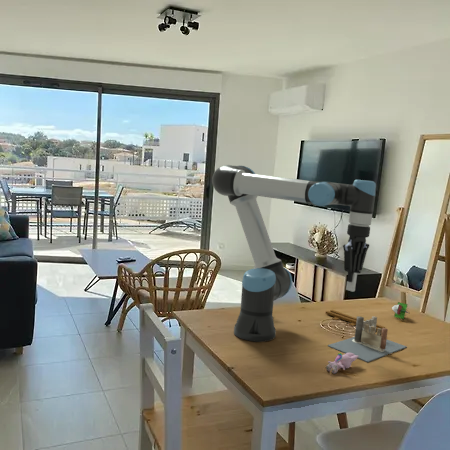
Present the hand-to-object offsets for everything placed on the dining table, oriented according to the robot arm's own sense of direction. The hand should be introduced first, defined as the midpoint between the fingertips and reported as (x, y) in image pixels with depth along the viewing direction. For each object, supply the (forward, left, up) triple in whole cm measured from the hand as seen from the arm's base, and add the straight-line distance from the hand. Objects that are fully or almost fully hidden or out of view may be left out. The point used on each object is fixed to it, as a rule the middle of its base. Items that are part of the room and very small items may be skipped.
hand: (350, 290), depth 167 cm
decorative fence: (+24, +13, -20) cm, 34 cm away
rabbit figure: (-19, -13, -20) cm, 30 cm away
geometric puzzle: (+49, +6, -20) cm, 53 cm away
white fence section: (+10, -2, -19) cm, 22 cm away
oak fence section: (+6, -8, -19) cm, 21 cm away
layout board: (+5, -6, -20) cm, 21 cm away
